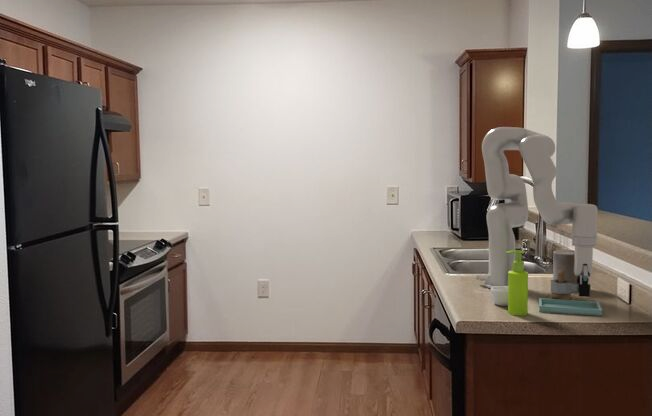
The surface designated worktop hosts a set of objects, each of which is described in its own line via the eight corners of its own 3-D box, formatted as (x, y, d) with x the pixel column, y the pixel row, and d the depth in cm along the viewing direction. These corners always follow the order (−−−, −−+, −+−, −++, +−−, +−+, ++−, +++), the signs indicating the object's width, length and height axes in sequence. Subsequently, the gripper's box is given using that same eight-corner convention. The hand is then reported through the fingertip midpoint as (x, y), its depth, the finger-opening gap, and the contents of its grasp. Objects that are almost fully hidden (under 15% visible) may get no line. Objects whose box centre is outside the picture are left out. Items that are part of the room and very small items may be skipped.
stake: (548, 303, 189) (549, 271, 188) (547, 298, 197) (548, 266, 196) (574, 305, 187) (575, 272, 186) (572, 299, 194) (573, 268, 193)
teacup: (519, 306, 187) (519, 290, 186) (497, 308, 185) (497, 291, 185) (504, 299, 197) (504, 283, 196) (483, 300, 195) (483, 285, 195)
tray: (539, 311, 180) (539, 305, 180) (538, 303, 190) (539, 298, 190) (601, 316, 174) (602, 310, 174) (598, 307, 184) (598, 301, 183)
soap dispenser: (501, 311, 182) (502, 249, 180) (522, 310, 182) (523, 248, 180) (509, 316, 176) (510, 252, 174) (530, 315, 176) (531, 251, 175)
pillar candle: (583, 287, 212) (583, 247, 211) (578, 292, 204) (578, 251, 203) (555, 284, 217) (556, 245, 216) (550, 289, 209) (550, 249, 208)
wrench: (551, 293, 189) (551, 282, 189) (550, 288, 195) (550, 278, 195) (591, 295, 185) (591, 285, 185) (589, 291, 191) (589, 281, 191)
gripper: (570, 237, 197) (569, 286, 198) (573, 244, 181) (572, 298, 182) (593, 238, 194) (592, 288, 196) (599, 245, 178) (598, 300, 180)
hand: (583, 293), depth 189 cm, fingers open, 7 cm apart
